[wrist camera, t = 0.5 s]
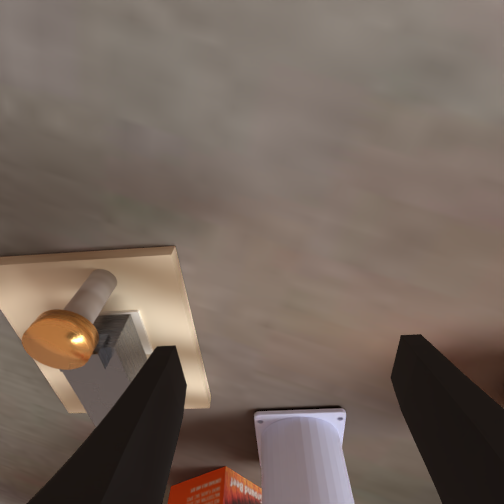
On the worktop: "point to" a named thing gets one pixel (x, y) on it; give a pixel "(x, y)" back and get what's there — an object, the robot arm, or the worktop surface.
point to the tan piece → (108, 304)
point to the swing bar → (88, 355)
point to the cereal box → (216, 489)
